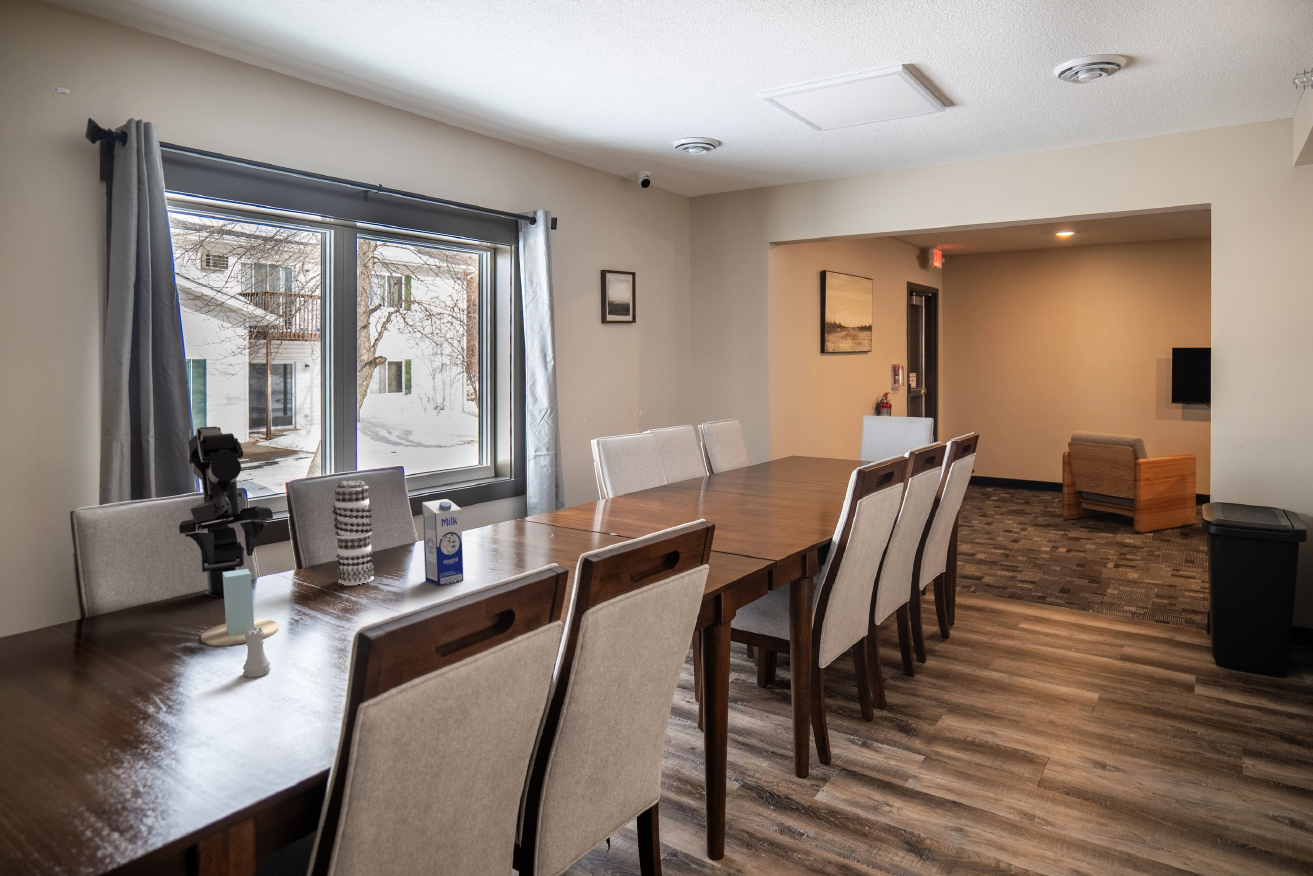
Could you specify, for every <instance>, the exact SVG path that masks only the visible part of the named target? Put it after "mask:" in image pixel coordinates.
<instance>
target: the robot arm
mask: <svg viewBox="0 0 1313 876" xmlns="http://www.w3.org/2000/svg"><path fill="white" fill-rule="evenodd" d="M242 457H244V450H243V448H242V445H241V442H239V439H238V438H237V437H235V435H234V434H233V433H232V432H230V433H223V432H222V431H221V427H220V426H219V427H218V426H203V427H202V426H200V427H199V428H196V434H195V435H193V436H192V438H190V439H189V441H188V442H187V461H188V464H189V465H191V466H192V467H191V469H192V473H193V474H194V475H195V476H196V477H197V478H198V479H199V480H200V481H201V488H202V495H203V502H201V503H199V504H197V505H194V506H193V507H190V508H189V510H190V513H191V515H192V519H187V520H183V521H181V522H179V525H178V534H179V535H184V536H185V538H190V539H192V540H193V541H194V542H195V543H196V544H197V547H199V568H200V571H201V572H202V573H205V572H206V576H207V590H206V591H202V592H201V594H202V595H203V596H209V597H212V598H217V599H218V598H220V599H221V598H222V597H223V598H224V587H223V572H228V571H235V570H237V569H236V568H241V567H243V566H244V565H245V558H244V556H245V555H244V554H245V551H246V556H247V557H251V556H253V553H254V551H255V548H256V546H257V543H258V541H259V538H260V535H261V533H262V531H263V529H264V527H265V526H266V525H268V524H269V522H268V521H271V520H273V519H274V515H273V511H272V509H271V508H270V507H269V506H260V505H256V506H251V507H245V508H242V509H241V510H240V502H239V499H241V498H243V495H242V492H239V491H238V481H237V478H238V476H239V475H240V474H241V471H242V464H241V463H240V460H241V459H242ZM237 523H239V524H240V526H241V528H242V530H243V531H244V543H245V547H244V546H243V544H242V543H241V541H238V536H237V533H236V529H235V528H234V527H233V526H229V525H231V524H237Z"/></svg>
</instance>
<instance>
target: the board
mask: <svg viewBox="0 0 1313 876" xmlns="http://www.w3.org/2000/svg"><path fill="white" fill-rule="evenodd" d="M254 628H257V630H259V628H262V631H263V632H264V633H265V634H264V636H263V638H262V640H263V639H266V637H267V638H269V637H271V636H273V635H274V633H275V632H276V631H277V630H278V631H279V629H280V628H279V623H278V622H276V621H274V620H272V619H271V620H270V619H264V618H263V619H254ZM278 631H277V632H278ZM277 632H276V633H277ZM276 633H275V634H276ZM272 634H273V635H272ZM245 635H246V633H244V634H238V635H233V636H229V635H228V632H227V630H226V623H223V624H219V625H217V626H214V627H211V628H209V629H207V630H205V631H204V632H203V633H202V634H201V636H200V638H201V642H202V643H203V644H206V645H207V646H208V645H209V646H215V647H216V646H217V647H221V646H222V647H224V646H227V647H228V646H238V645H244V644H245V645H246V644H247V642H248V641H247V639H246V638H245V637H244V636H245ZM270 635H271V636H270Z"/></svg>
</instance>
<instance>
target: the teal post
mask: <svg viewBox="0 0 1313 876" xmlns="http://www.w3.org/2000/svg"><path fill="white" fill-rule="evenodd" d="M252 586H253V585H252V573H251V572H250V570H249V568H244V569H243V568H242V569H236V570H235V571H228V572H223V587H224V596H223V598H224V599H223V600H224V601H223V602H224V611H225V612H224V614H225V624H226V630H227V632H228V635H229V636H233V635H238V634H244V633H246V631H247V630H249V629H252V631H253V630H254V615H255V614H254V603H253V587H252Z"/></svg>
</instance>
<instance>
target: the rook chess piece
mask: <svg viewBox="0 0 1313 876" xmlns="http://www.w3.org/2000/svg"><path fill="white" fill-rule="evenodd" d="M264 634H265V633H264V632H263V631H262V628H259V630H257V628H254V630H253V631H252V629H249V630H247V631H246V635H245V636H244V637H245V638H246V639H247V641H248V642H247V643H245V645H246V646H247V656H246V660H245V663H244V665H243V667H242V669H243V672H242V674H243V675H244V676H245V677H246V678H247V679H248V678H249V679H253V678H260V677H265V676H266V675H268V674H269V673H270V671H271V667H270V665H271V663H270V661H269V660H268V657H266V655H265V650H264V643H265V642H264V640H263V639H262V638H263V636H264Z"/></svg>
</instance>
